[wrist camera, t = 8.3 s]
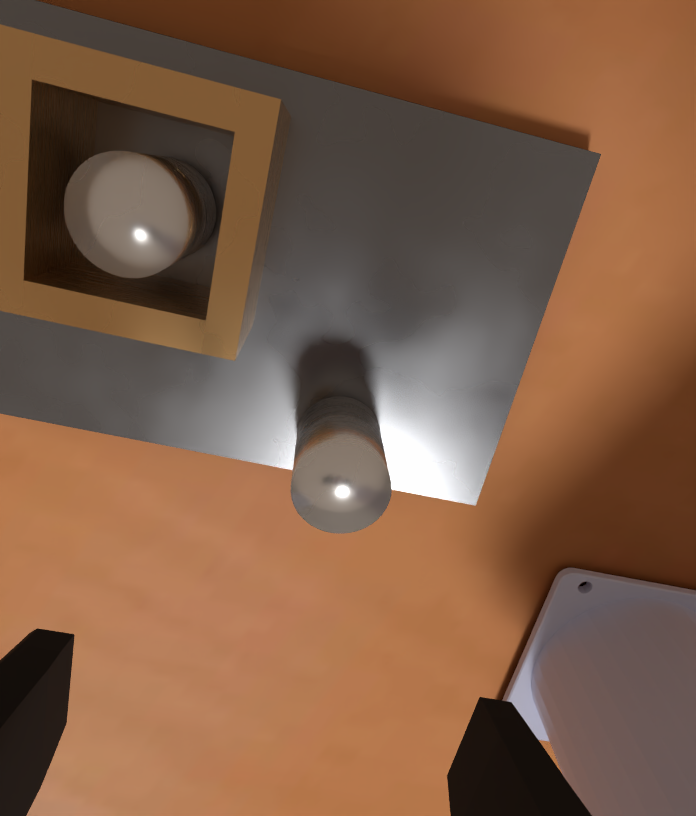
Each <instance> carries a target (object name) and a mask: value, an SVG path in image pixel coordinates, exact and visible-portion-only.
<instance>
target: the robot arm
mask: <svg viewBox="0 0 696 816" xmlns="http://www.w3.org/2000/svg"><path fill="white" fill-rule="evenodd" d="M582 582H587V583H586V584H585V585H583V586H579V585H580V584H581V583H582ZM73 645H74V634H69V633H63V632H56V631H50V630H43V629H36V630H34V631H32V632H31V633H29V634H28V635H27V636H26V637H25V638H24V639H23V640H22V641H21V642H20V643H19V644H17V645H16V646H15V647H14V648H13V649H12V650H11V651H10V652H9V653H8V654H7V655H6V656H4V657H3V658H2V659H1V660H0V816H26V815H27V813H28V811H29V809H30V807H31V805H32V803H33V801H34V799H35V797H36V795H37V793H38V791H39V789H40V787H41V785H42V782H43V780H44V778H45V775H46V773H47V770H48V768H49V766H50V763H51V761H52V758H53V756H54V753H55V751H56V748H57V746H58V743H59V741H60V738H61V736H62V733H63V731H64V728H65V726H66V723H67V712H68V701H69V690H70V678H71V667H72V656H73ZM539 740H544V741H550V744H551V746H552V749H553V751H554V754H555V756H556V759H557V761H558V764H559V766H560V769H561V772H562V773H561V772H560V770H559V769H558V768H557V766H556V765H555V763H554V762H553V760H552V759H551V758H550V756H549V755H548V753H547V752H546V751H545V749H544V748H543V746H542V745H541V743H540V742H539ZM562 774H563V775H562ZM447 779H448V790H449V801H450V812H451V816H696V590H691V589H686V588H680V587H675V586H669V585H664V584H659V583H653V582H648V581H642V580H637V579H631V578H626V577H621V576H615V575H610V574H604V573H599V572H594V571H588V570H583V569H577V568H566V569H563V570H561V571H560V572H559V573H558V574H557V576H556V577H555V579H554V582H553V584H552V586H551V589H550V591H549V593H548V596H547V598H546V600H545V603H544V605H543V607H542V609H541V612H540V614H539V616H538V619H537V621H536V623H535V626H534V628H533V630H532V633H531V635H530V637H529V639H528V642H527V644H526V646H525V649H524V651H523V653H522V656H521V658H520V660H519V663H518V665H517V667H516V669H515V672H514V674H513V676H512V679H511V681H510V683H509V686H508V688H507V690H506V693H505V695H504V697H503V699H502V700H495V699H489V698H482V697H480V698H479V700H478V703H477V705H476V707H475V710H474V712H473V715H472V717H471V719H470V722H469V724H468V727H467V729H466V731H465V734H464V736H463V739H462V741H461V744H460V746H459V748H458V751H457V753H456V756H455V758H454V760H453V763H452V765H451V768H450V770H449V772H448V775H447Z"/></svg>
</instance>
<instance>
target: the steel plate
mask: <svg viewBox="0 0 696 816" xmlns="http://www.w3.org/2000/svg"><path fill="white" fill-rule="evenodd" d="M0 24H1V25H4V26H8V27H12V28H16V29H19V30H23V31H27V32H31V33H34V34H38V35H42V36H46V37H49V38H53V39H57V40H61V41H64V42H68V43H72V44H76V45H79V46H83V47H87V48H91V49H94V50H98V51H102V52H106V53H109V54H113V55H117V56H121V57H124V58H128V59H132V60H136V61H139V62H143V63H147V64H151V65H154V66H158V67H162V68H166V69H169V70H173V71H177V72H181V73H184V74H188V75H192V76H196V77H199V78H203V79H207V80H210V81H214V82H218V83H222V84H225V85H229V86H233V87H237V88H240V89H244V90H248V91H252V92H255V93H259V94H263V95H267V96H270V97H274V98H278V99H281V100H282V102H283V103H284V105H285V107H286V109H287V110H288V112H289V114H290V115H291V120H290V125H289V131H288V136H287V142H286V147H285V153H284V158H283V164H282V169H281V175H280V180H279V186H278V191H277V196H276V202H275V207H274V213H273V218H272V224H271V229H270V235H269V240H268V246H267V251H266V257H265V262H264V268H263V273H262V278H261V284H260V289H259V295H258V300H257V306H256V311H255V317H254V322H253V326H252V328H251V330H250V332H249V334H248V336H247V338H246V340H245V342H244V344H243V346H242V348H241V350H240V352H239V354H238V356H237V358H236V360H235V361H233V360H228V359H223V358H219V357H214V356H209V355H205V354H200V353H195V352H191V351H186V350H181V349H177V348H172V347H167V346H163V345H158V344H153V343H149V342H144V341H139V340H134V339H130V338H125V337H120V336H116V335H111V334H106V333H102V332H97V331H92V330H88V329H83V328H78V327H74V326H69V325H64V324H60V323H55V322H50V321H46V320H41V319H36V318H32V317H27V316H22V315H17V314H13V313H8V312H3V311H0V413H1V414H6V415H11V416H16V417H21V418H27V419H32V420H37V421H42V422H47V423H52V424H58V425H63V426H68V427H73V428H78V429H83V430H89V431H94V432H99V433H104V434H109V435H114V436H120V437H125V438H130V439H135V440H140V441H145V442H150V443H156V444H161V445H166V446H171V447H176V448H181V449H187V450H192V451H197V452H202V453H207V454H212V455H218V456H223V457H228V458H233V459H238V460H243V461H249V462H254V463H259V464H264V465H269V466H274V467H280V468H285V469H290V470H293V463H294V455H295V446H296V438H297V430H298V425H299V422H300V420H301V417H302V416H303V414H304V413H305V412H306V411H307V409H308V408H309V407H311V406H312V405H313V404H315V403H316V402H318V401H320V400H322V399H325V398H329V397H335V396H343V397H349V398H353V399H356V400H358V401H360V402H362V403H363V404H365V405H366V406H367V407H368V408H369V409H370V410H371V411H372V412H373V413H374V415H375V417H376V418H377V421H378V423H379V427H380V432H381V437H382V442H383V446H384V451H385V456H386V461H387V465H388V470H389V475H390V479H391V487H392V489H393V490H398V491H404V492H409V493H414V494H419V495H424V496H429V497H435V498H440V499H445V500H450V501H455V502H460V503H466V504H471V505H476V503H477V500H478V497H479V495H480V492H481V489H482V486H483V483H484V481H485V478H486V475H487V472H488V469H489V467H490V464H491V461H492V458H493V455H494V453H495V450H496V447H497V444H498V441H499V439H500V436H501V433H502V430H503V427H504V425H505V422H506V419H507V416H508V413H509V411H510V408H511V405H512V402H513V399H514V397H515V394H516V391H517V388H518V385H519V383H520V380H521V377H522V374H523V371H524V369H525V366H526V363H527V360H528V357H529V355H530V352H531V349H532V346H533V343H534V341H535V338H536V335H537V332H538V329H539V327H540V324H541V321H542V318H543V315H544V313H545V310H546V307H547V304H548V301H549V299H550V296H551V293H552V290H553V287H554V285H555V282H556V279H557V276H558V273H559V271H560V268H561V265H562V262H563V259H564V257H565V254H566V251H567V248H568V245H569V243H570V240H571V237H572V234H573V231H574V229H575V226H576V223H577V220H578V217H579V215H580V212H581V209H582V206H583V203H584V201H585V198H586V195H587V192H588V189H589V187H590V184H591V181H592V178H593V175H594V173H595V170H596V167H597V164H598V161H599V159H600V156H601V154H599V153H595V152H591V151H588V150H584V149H580V148H577V147H573V146H569V145H566V144H562V143H558V142H555V141H551V140H547V139H544V138H540V137H536V136H533V135H529V134H525V133H522V132H518V131H514V130H511V129H507V128H503V127H500V126H496V125H492V124H489V123H485V122H481V121H477V120H474V119H470V118H466V117H463V116H459V115H455V114H452V113H448V112H444V111H441V110H437V109H433V108H430V107H426V106H422V105H419V104H415V103H411V102H408V101H404V100H400V99H397V98H393V97H389V96H386V95H382V94H378V93H375V92H371V91H367V90H363V89H360V88H356V87H352V86H349V85H345V84H341V83H338V82H334V81H330V80H327V79H323V78H319V77H316V76H312V75H308V74H305V73H301V72H297V71H294V70H290V69H286V68H283V67H279V66H275V65H272V64H268V63H264V62H261V61H257V60H253V59H250V58H246V57H242V56H238V55H235V54H231V53H227V52H224V51H220V50H216V49H213V48H209V47H205V46H202V45H198V44H194V43H191V42H187V41H183V40H180V39H176V38H172V37H169V36H165V35H161V34H158V33H154V32H150V31H147V30H143V29H139V28H136V27H132V26H128V25H124V24H121V23H117V22H113V21H110V20H106V19H102V18H99V17H95V16H91V15H88V14H84V13H80V12H77V11H73V10H69V9H66V8H62V7H58V6H55V5H51V4H47V3H44V2H40V1H36V0H0ZM233 141H234V136H231V135H227V134H223V133H219V132H215V131H211V130H207V129H203V128H200V127H196V126H192V125H188V124H184V123H180V122H176V121H172V120H169V119H165V118H161V117H157V116H153V115H149V114H145V113H141V112H137V111H134V110H130V109H126V108H122V107H118V106H114V105H110V104H106V103H102V102H99V101H98V107H97V120H96V133H95V146H94V156H95V155H97V154H100V153H104V152H108V151H128V152H136V153H144V154H151V155H159V156H167V157H172V158H176V159H179V160H182V161H184V162H186V163H187V164H189V165H191V166H192V167H193V168H195V169H196V170H197V171H198V172H199V173H200V174H201V175H202V176H203V178H204V179H205V180H206V182H207V183H208V185H209V187H210V189H211V191H212V193H213V197H214V200H215V205H216V220H215V225H214V228H213V231H212V233H211V235H210V237H209V239H208V240H207V242H206V243H205V244H204V245H203V246H202V247H201V248H200V249H198V250H197V251H196V252H194V253H192V254H190V255H189V256H187V257H185V258H183V259H182V260H180V261H178V262H176V263H174V264H173V265H171V266H169V267H167V268H166V269H164V270H162V271H160V272H159V273H156V274H154V275H158V276H162V277H167V278H171V279H175V280H180V281H184V282H189V283H193V284H197V285H202V286H206V287H211V284H212V277H213V271H214V264H215V258H216V251H217V245H218V238H219V232H220V225H221V219H222V212H223V206H224V199H225V193H226V186H227V180H228V173H229V167H230V160H231V154H232V147H233ZM86 259H87V258H86ZM87 260H88V259H87Z"/></svg>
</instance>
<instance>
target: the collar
mask: <svg viewBox="0 0 696 816" xmlns="http://www.w3.org/2000/svg"><path fill="white" fill-rule="evenodd" d="M98 101H99V102H102V103H106V104H110V105H114V106H118V107H122V108H126V109H130V110H134V111H137V112H141V113H145V114H149V115H153V116H157V117H161V118H165V119H169V120H172V121H176V122H180V123H184V124H188V125H192V126H196V127H200V128H203V129H207V130H211V131H215V132H219V133H223V134H227V135H231V136H234V141H233V147H232V154H231V160H230V167H229V173H228V180H227V186H226V193H225V199H224V206H223V212H222V219H221V225H220V232H219V238H218V245H217V251H216V258H215V264H214V271H213V277H212V284H211V287H206V286H202V285H197V284H193V283H189V282H184V281H180V280H175V279H171V278H167V277H162V276H158V275H151V276H147V277H143V278H125V277H120V276H116V275H113V274H110V273H108V272H106V271H104V270H102V269H100V268H99V267H97V266H96V265H94V264H93V263H92V262H90V261H89V260H87V259H86V257H85V256H84V255H83V254H82V252H81V251H80V250H79V249H78V247H77V246H76V244H75V243H74V241H73V239H72V237H71V235H70V233H69V230H68V228H67V224H66V221H65V215H64V198H65V192H66V188H67V185H68V183H69V181H70V178H71V177H72V175H73V174H74V172H75V171H76V170H77V168H78V167H79V166H80V165H81V164H82V163H84V162H85V161H86V160H88V159H89V158H91V157H93V156H94V146H95V133H96V120H97V107H98ZM290 120H291V115H290V114H289V112H288V110H287V109H286V107H285V105H284V103H283V102H282V100H281V99H278V98H274V97H270V96H267V95H263V94H259V93H255V92H252V91H248V90H244V89H240V88H237V87H233V86H229V85H225V84H222V83H218V82H214V81H210V80H207V79H203V78H199V77H196V76H192V75H188V74H184V73H181V72H177V71H173V70H169V69H166V68H162V67H158V66H154V65H151V64H147V63H143V62H139V61H136V60H132V59H128V58H124V57H121V56H117V55H113V54H109V53H106V52H102V51H98V50H94V49H91V48H87V47H83V46H79V45H76V44H72V43H68V42H64V41H61V40H57V39H53V38H49V37H46V36H42V35H38V34H34V33H31V32H27V31H23V30H19V29H16V28H12V27H8V26H4V25H1V24H0V311H3V312H8V313H13V314H17V315H22V316H27V317H32V318H36V319H41V320H46V321H50V322H55V323H60V324H64V325H69V326H74V327H78V328H83V329H88V330H92V331H97V332H102V333H106V334H111V335H116V336H120V337H125V338H130V339H134V340H139V341H144V342H149V343H153V344H158V345H163V346H167V347H172V348H177V349H181V350H186V351H191V352H195V353H200V354H205V355H209V356H214V357H219V358H223V359H228V360H233V361H235V360H236V358H237V356H238V354H239V352H240V350H241V348H242V346H243V344H244V342H245V340H246V338H247V336H248V334H249V332H250V330H251V328H252V326H253V322H254V317H255V311H256V306H257V300H258V295H259V289H260V284H261V278H262V273H263V268H264V262H265V257H266V251H267V246H268V240H269V235H270V229H271V224H272V218H273V213H274V207H275V202H276V196H277V191H278V186H279V180H280V175H281V169H282V164H283V158H284V153H285V147H286V142H287V136H288V131H289V125H290Z"/></svg>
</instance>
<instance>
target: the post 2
mask: <svg viewBox="0 0 696 816" xmlns="http://www.w3.org/2000/svg"><path fill="white" fill-rule="evenodd" d="M391 489H392V487H391V479H390V475H389V470H388V465H387V461H386V456H385V451H384V446H383V442H382V437H381V432H380V427H379V423H378V421H377V418H376V417H375V415H374V413H373V412H372V411H371V410H370V409H369V408H368V407H367V406H366V405H365V404H363V403H362V402H360V401H358V400H356V399H353V398H349V397H343V396H335V397H329V398H325V399H322V400H320V401H318V402H316V403H315V404H313V405H312V406H311V407H309V408H308V409H307V411H306V412H305V413H304V414H303V416H302V417H301V420H300V422H299V425H298V430H297V438H296V446H295V455H294V463H293V472H292V481H291V497H292V501H293V504H294V506H295V508H296V510H297V512H298V513H299V515H300V516H301V517H302V518H303V519H304V520H305V521H306V522H307V523H309V524H310V525H312V526H314V527H315V528H317V529H320V530H323V531H326V532H330V533H351V532H355V531H358V530H361V529H363V528H366V527H368V526H369V525H371V524H372V523H374V522H375V521H376V520H377V519H378V518H379V517H380V516H381V515H382V514H383V512H384V511H385V509H386V508H387V506H388V503H389V501H390V497H391Z"/></svg>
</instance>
